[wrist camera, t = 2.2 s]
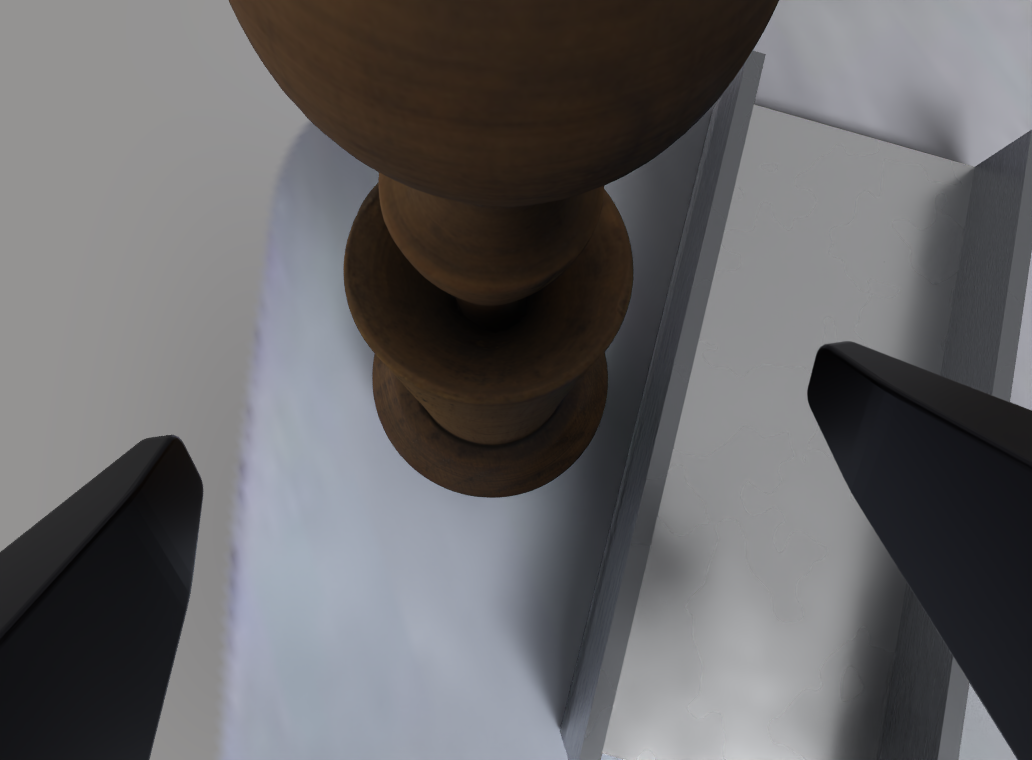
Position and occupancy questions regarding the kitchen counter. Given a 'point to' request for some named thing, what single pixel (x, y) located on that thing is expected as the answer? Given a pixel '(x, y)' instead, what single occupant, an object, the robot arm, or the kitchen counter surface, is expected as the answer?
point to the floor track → (791, 450)
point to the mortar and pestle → (496, 199)
